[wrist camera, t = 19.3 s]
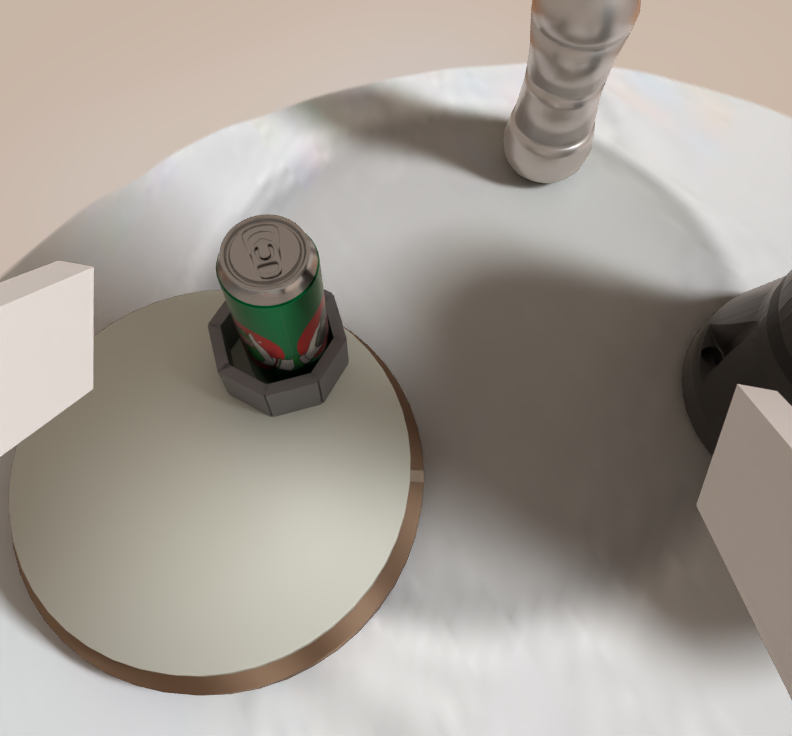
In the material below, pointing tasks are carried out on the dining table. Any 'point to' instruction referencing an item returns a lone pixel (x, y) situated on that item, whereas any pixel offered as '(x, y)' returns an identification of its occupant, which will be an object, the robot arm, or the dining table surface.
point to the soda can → (275, 296)
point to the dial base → (311, 652)
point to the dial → (210, 494)
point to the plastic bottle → (564, 84)
